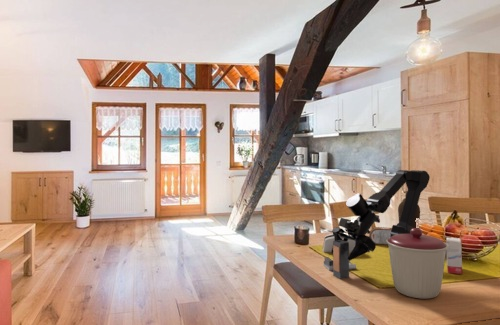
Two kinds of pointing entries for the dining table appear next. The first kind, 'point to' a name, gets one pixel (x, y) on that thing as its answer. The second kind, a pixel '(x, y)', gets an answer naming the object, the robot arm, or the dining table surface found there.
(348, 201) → the robot arm
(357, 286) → the dining table surface
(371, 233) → the tin
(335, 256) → the block
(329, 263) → the grey rectangular piece
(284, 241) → the dining table surface
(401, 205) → the olive oil
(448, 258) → the ink box
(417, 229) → the canister
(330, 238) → the white slotted device
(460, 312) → the dining table surface
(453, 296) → the dining table surface
